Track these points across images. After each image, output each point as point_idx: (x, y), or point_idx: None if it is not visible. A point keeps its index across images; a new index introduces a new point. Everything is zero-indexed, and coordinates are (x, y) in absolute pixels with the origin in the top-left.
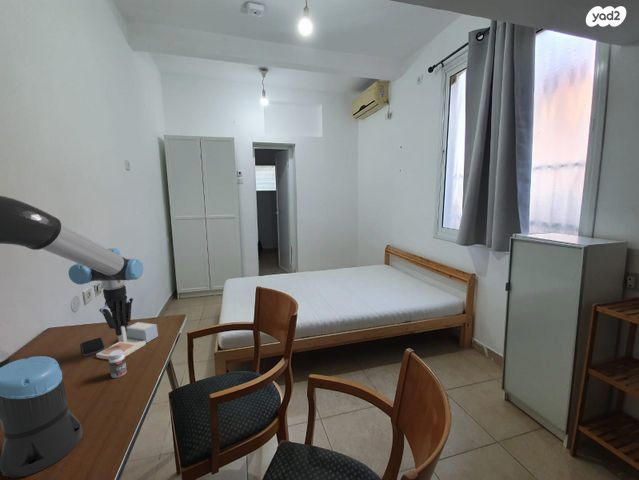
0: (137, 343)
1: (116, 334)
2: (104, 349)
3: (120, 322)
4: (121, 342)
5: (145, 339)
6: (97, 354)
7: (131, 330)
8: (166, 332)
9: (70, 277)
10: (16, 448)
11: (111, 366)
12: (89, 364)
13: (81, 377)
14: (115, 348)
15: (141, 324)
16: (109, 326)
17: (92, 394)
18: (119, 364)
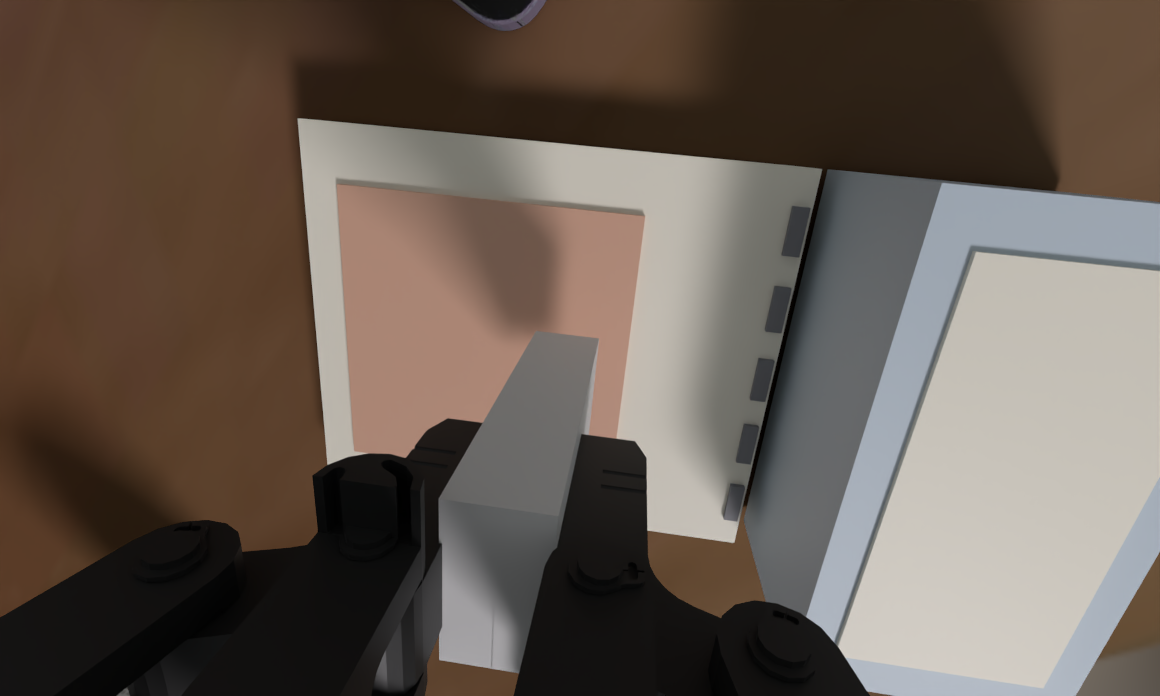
0: (659, 489)
1: (426, 441)
2: (512, 28)
3: (536, 648)
4: (662, 227)
5: (756, 539)
6: (302, 150)
7: (864, 356)
8: None
9: None
10: None
11: None
12: (198, 184)
13: (41, 334)
14: (481, 299)
15: (1107, 458)
16: (68, 612)
17: (2, 606)
18: None
